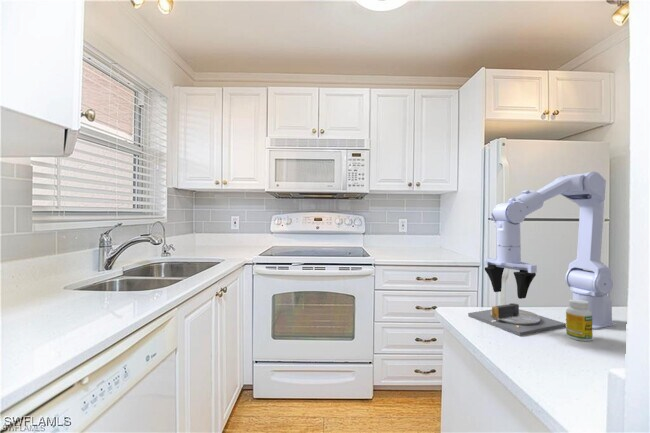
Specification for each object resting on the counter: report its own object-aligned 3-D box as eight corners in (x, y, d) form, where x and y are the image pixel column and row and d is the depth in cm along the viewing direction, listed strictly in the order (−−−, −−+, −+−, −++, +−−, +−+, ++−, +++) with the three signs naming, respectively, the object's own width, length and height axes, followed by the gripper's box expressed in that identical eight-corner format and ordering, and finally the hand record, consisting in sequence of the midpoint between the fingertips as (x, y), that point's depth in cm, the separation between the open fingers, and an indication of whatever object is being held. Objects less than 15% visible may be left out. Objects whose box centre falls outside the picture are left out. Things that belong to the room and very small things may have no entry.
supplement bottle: (571, 332, 87) (570, 297, 86) (595, 338, 82) (595, 301, 82) (562, 337, 84) (562, 300, 84) (588, 343, 79) (587, 305, 79)
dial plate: (509, 309, 108) (509, 306, 108) (565, 326, 91) (565, 322, 91) (468, 316, 101) (468, 312, 101) (520, 336, 84) (519, 331, 84)
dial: (510, 309, 104) (510, 296, 104) (550, 321, 92) (550, 307, 92) (476, 314, 99) (476, 301, 99) (514, 328, 87) (514, 313, 87)
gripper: (476, 244, 93) (477, 290, 94) (522, 249, 80) (523, 303, 80) (494, 243, 96) (495, 288, 96) (542, 247, 82) (542, 299, 82)
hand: (509, 294), depth 88 cm, fingers open, 7 cm apart
